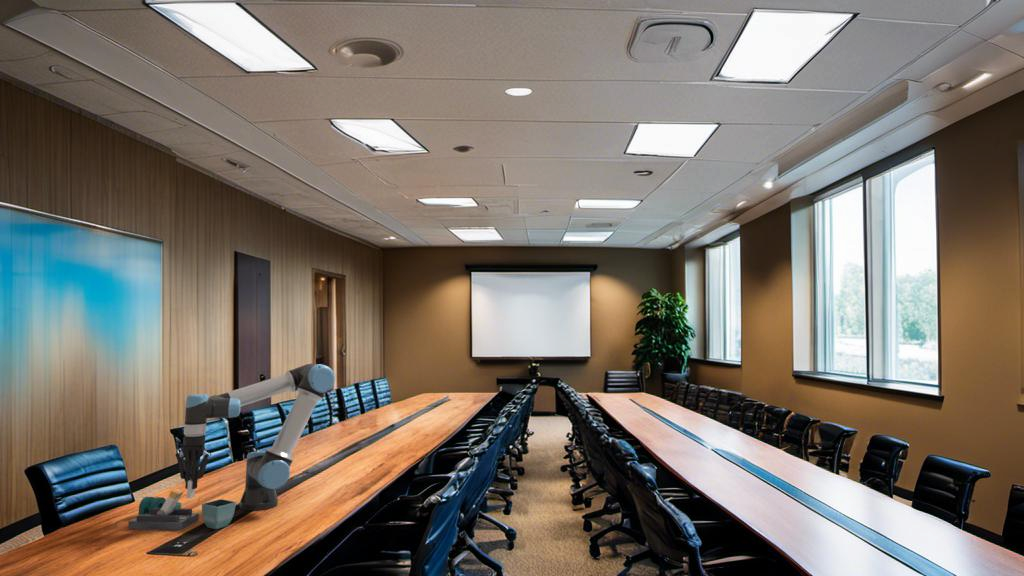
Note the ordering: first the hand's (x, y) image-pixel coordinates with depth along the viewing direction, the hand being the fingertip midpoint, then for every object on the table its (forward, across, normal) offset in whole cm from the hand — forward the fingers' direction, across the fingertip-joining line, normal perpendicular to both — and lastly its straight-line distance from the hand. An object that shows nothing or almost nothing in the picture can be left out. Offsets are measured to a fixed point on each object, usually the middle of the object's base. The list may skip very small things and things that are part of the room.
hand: (190, 497), depth 231 cm
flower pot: (+11, -12, +1) cm, 16 cm away
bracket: (+11, +20, -16) cm, 28 cm away
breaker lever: (+7, +10, 0) cm, 12 cm away
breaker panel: (+11, +9, 0) cm, 14 cm away
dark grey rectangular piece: (+8, +9, 0) cm, 12 cm away
